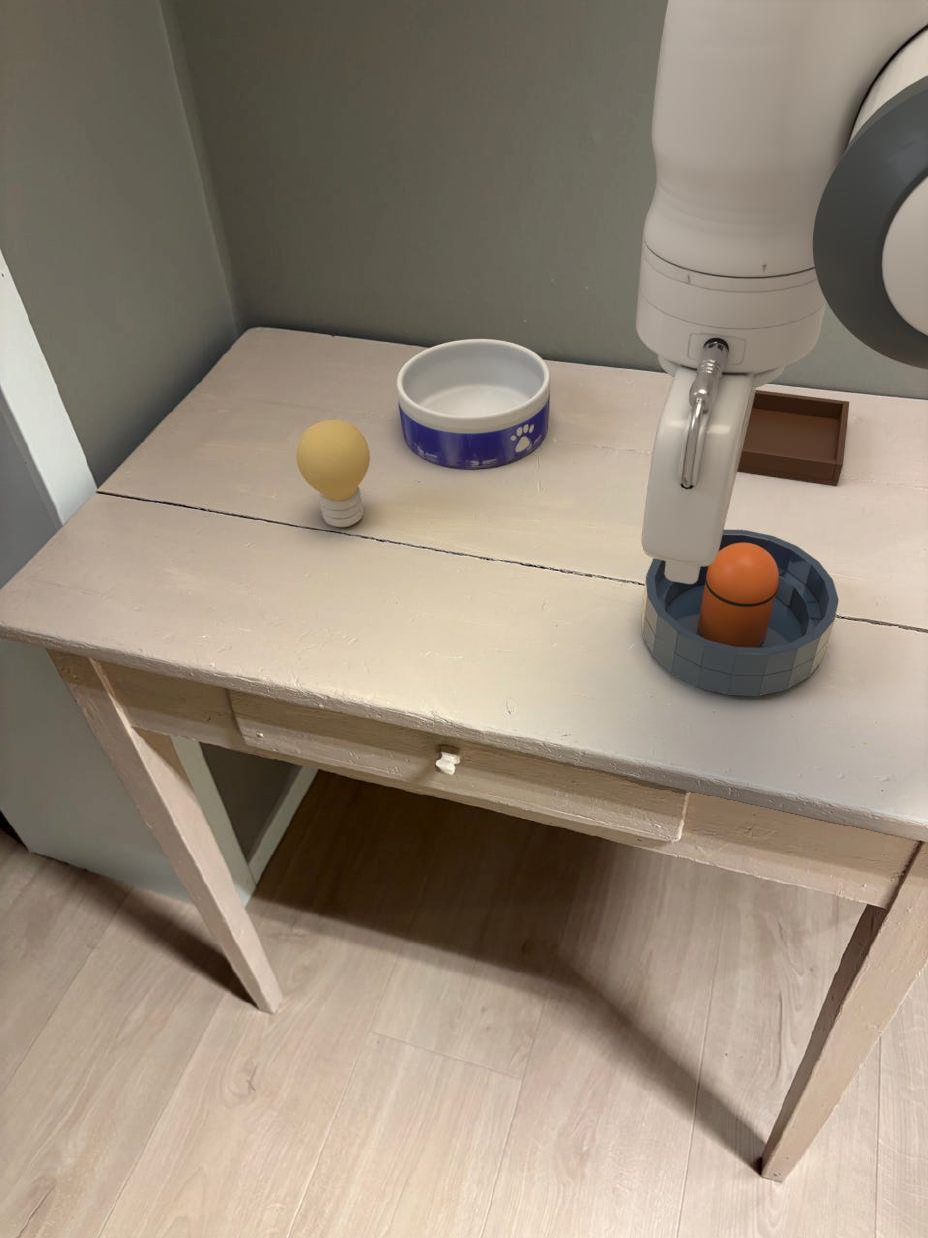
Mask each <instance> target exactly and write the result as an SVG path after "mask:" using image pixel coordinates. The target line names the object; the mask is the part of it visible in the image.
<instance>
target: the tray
mask: <svg viewBox="0 0 928 1238" xmlns="http://www.w3.org/2000/svg"><path fill="white" fill-rule="evenodd" d="M849 410H850V401H848V400H841V399H840V400H839V399H834V398H833V399H831V398H825V397H816V396H809V395H801V394H793V393H786V392H785V393H784V392H777V391H769V390H762V389H761V390H760V389H756V392H755V396H754V401H753V405H752V409H751V414H750V418H749V422H748V427H747V431H746V435H745V440H744V444H743V448H742V453H741V457H740V461H739V466H738V470H737V472H741V473H748V474H754V475H762V476H768V477H774V478H783V479H786V480H787V479H788V480H795V481H801V482H808V483H814V484H815V483H816V484H821V485H822V484H823V485H830V486H834V487H835V486H836V487H837V486H839V485H838V484H839V481H840V478H841V474H842V470H843V466H844V458H845V451H846V450H845V449H846V440H847V432H848V431H847V429H848V422H849V421H848V419H849Z"/></svg>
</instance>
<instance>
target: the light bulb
mask: <svg viewBox="0 0 928 1238" xmlns="http://www.w3.org/2000/svg"><path fill="white" fill-rule="evenodd" d="M369 448H370V447H369V445H368V442H367V439H366V438H365V436H364V435H363V433H362V432H361V430H360V429H359V428H358V427H357V426H355V425H354V424H352V423H351V422H349V421H345V420H341V419H328V420H327V419H326V420H322V421H318V422H316V423H313V424H312V425H310V426H309V427H307V428H306V429H305V431H304V432H303V433H302V435H301V436H300V439H299V441H298V443H297V448H296V464H297V468H298V471H299V472H300V475H301V476H302V477H303V479H304V481H305V482H306V483H307V484H308V485H310V486H311V487H312V488H313V489H315V490H316V491H317V492H318V498H319V502H320V509H321V514H322V515H321V516H322V518H323V520H324V522H325V523H326V524H327V525H330V526H332V527H335V528H347V527H351V526H353V525H355V524H356V523H358V522H359V521H360V520H361V519H362V517H363V515H364V507H363V501H362V496H361V489H360V487H359V486H360V484H361V483H362V482H363V480H364V478H365V477H366V476H367V475H366V474H367V473H368V470H369V468H370V461H371V454H370V449H369Z"/></svg>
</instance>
